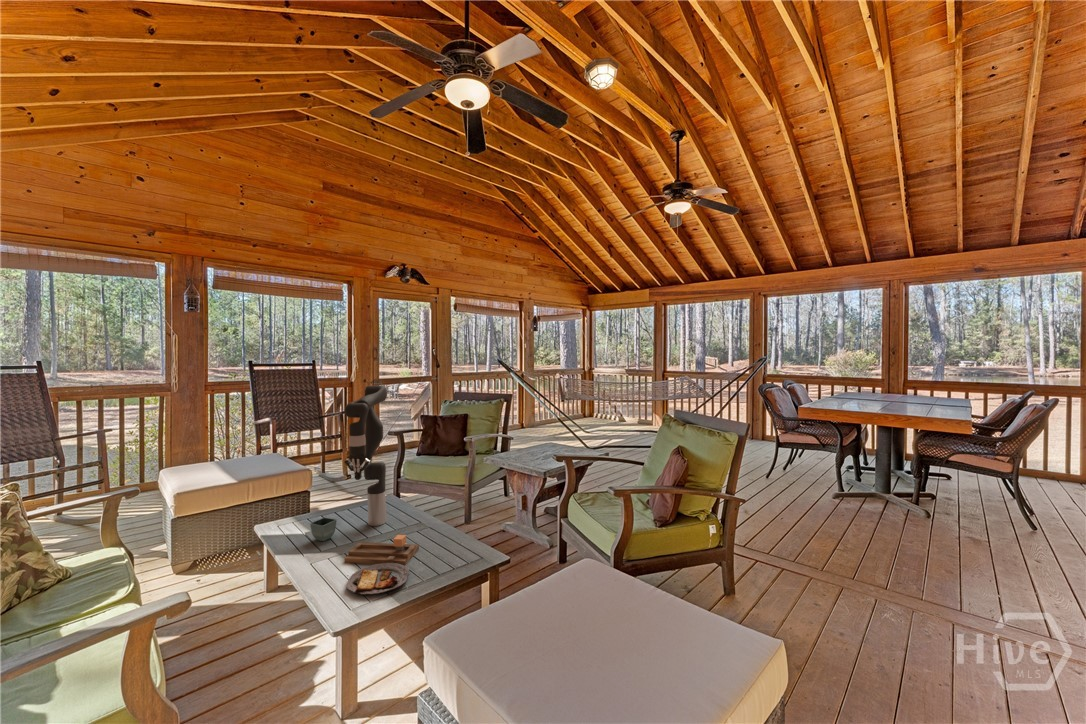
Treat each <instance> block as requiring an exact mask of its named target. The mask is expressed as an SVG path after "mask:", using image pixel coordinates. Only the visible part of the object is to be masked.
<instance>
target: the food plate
mask: <svg viewBox="0 0 1086 724" xmlns="http://www.w3.org/2000/svg"><path fill="white" fill-rule="evenodd" d="M379 573H380V577H379ZM393 573H395V574H396V575H397V576H396V575H391V574H393ZM409 573H410V568H409V566H406V565H401V564H398V563H382V564H370V565H368V566H364V567H362V568H360V569H358V570H356V571H355V572H354V573H352V574H351V575H350V576H349V578H348V581H347V583H346V585H345V588H346V590H347V591H349V592H350V593H352V594H355V595H378V594H383V593H387V592H389V591H394V590H396V589H398V588H400V587H402V585H403V584H405V583H406V582H407V581H408V578H409Z"/></svg>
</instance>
